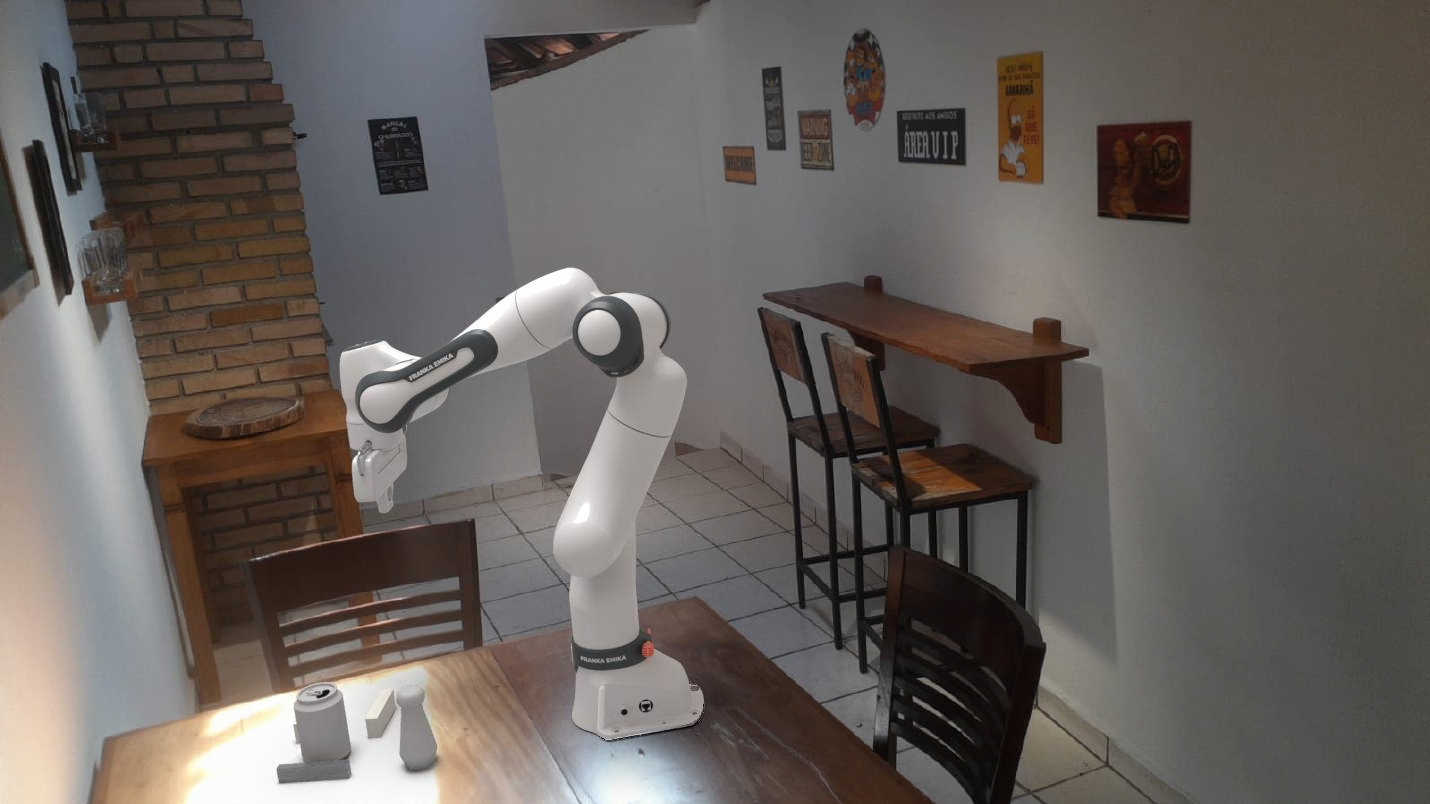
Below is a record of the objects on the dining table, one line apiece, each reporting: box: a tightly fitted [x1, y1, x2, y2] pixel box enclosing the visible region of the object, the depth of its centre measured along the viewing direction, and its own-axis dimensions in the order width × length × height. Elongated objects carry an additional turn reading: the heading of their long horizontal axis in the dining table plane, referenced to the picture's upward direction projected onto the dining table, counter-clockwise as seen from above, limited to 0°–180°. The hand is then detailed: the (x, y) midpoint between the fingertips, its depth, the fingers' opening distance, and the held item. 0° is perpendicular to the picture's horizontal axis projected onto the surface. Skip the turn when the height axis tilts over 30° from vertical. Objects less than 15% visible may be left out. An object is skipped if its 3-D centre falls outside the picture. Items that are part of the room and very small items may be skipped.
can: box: [293, 681, 352, 763], centre depth 174 cm, size 8×8×12 cm
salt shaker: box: [395, 684, 438, 771], centre depth 170 cm, size 6×6×13 cm
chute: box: [292, 688, 397, 744], centre depth 185 cm, size 14×10×4 cm
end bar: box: [276, 759, 352, 784], centre depth 169 cm, size 11×1×2 cm, turn 91°
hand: (386, 510), depth 189 cm, fingers closed
